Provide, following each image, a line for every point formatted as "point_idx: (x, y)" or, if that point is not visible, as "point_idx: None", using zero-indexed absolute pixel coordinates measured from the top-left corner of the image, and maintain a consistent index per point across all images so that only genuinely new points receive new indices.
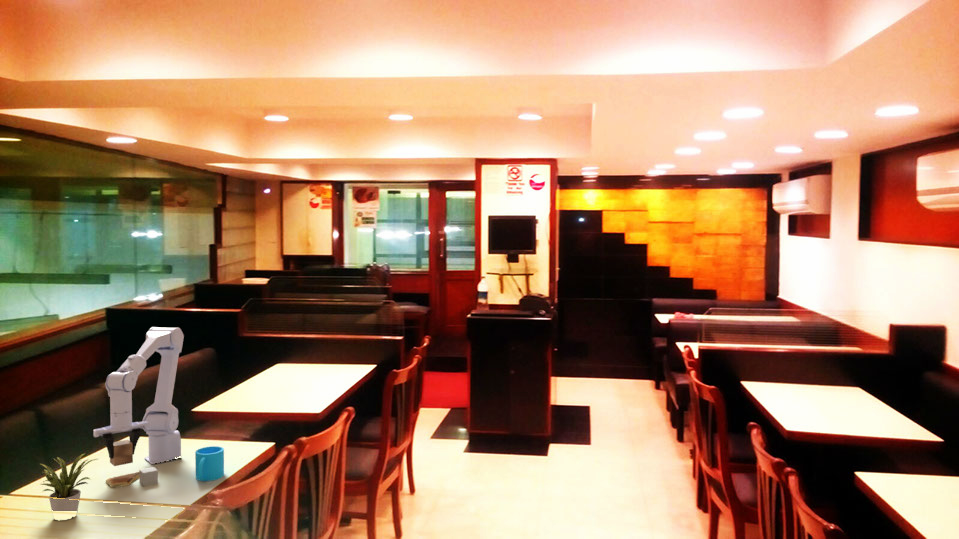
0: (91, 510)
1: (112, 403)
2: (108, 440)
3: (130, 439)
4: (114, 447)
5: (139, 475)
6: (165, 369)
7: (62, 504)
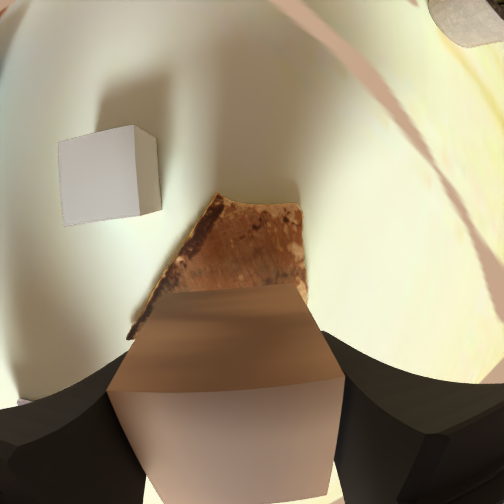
0: (391, 5)
1: None
2: (475, 395)
3: (131, 477)
4: (334, 368)
5: (151, 211)
6: None
7: None
